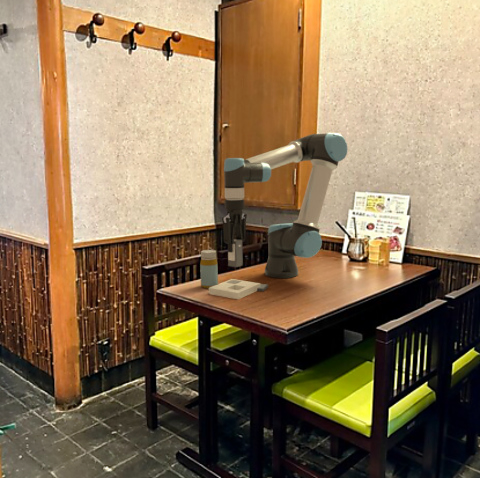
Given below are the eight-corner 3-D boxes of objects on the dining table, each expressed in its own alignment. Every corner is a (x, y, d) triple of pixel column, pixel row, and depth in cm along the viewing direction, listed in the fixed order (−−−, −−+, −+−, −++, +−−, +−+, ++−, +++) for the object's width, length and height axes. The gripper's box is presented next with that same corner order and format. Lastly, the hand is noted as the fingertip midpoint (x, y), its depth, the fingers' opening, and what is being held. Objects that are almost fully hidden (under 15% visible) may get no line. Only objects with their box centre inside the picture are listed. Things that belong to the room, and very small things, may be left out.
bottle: (210, 283, 209) (209, 248, 206) (221, 286, 204) (220, 251, 201) (197, 286, 204) (196, 251, 201) (208, 289, 199) (207, 253, 196)
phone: (260, 286, 203) (260, 283, 203) (268, 286, 202) (268, 284, 202) (255, 290, 196) (255, 288, 196) (263, 291, 195) (263, 288, 195)
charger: (234, 263, 194) (233, 239, 192) (243, 265, 191) (242, 239, 190) (228, 265, 190) (227, 240, 189) (237, 267, 188) (236, 241, 186)
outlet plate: (232, 284, 206) (232, 278, 206) (260, 289, 198) (260, 283, 198) (208, 294, 193) (208, 287, 193) (238, 299, 185) (238, 292, 185)
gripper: (239, 196, 196) (239, 254, 200) (212, 200, 182) (214, 262, 186) (254, 197, 191) (255, 256, 195) (229, 201, 177) (230, 264, 181)
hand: (235, 259), depth 190 cm, fingers closed on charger, 4 cm apart
